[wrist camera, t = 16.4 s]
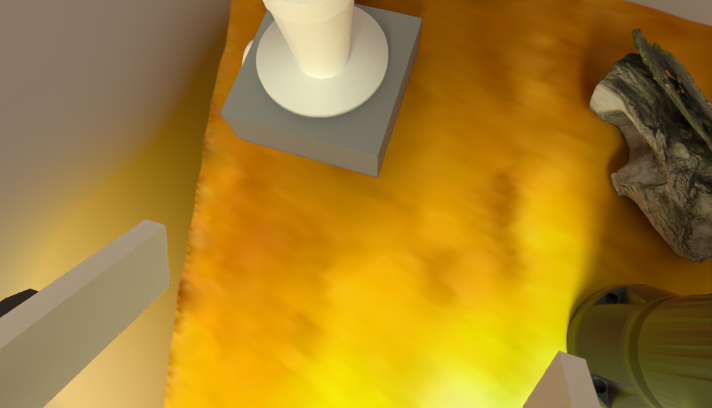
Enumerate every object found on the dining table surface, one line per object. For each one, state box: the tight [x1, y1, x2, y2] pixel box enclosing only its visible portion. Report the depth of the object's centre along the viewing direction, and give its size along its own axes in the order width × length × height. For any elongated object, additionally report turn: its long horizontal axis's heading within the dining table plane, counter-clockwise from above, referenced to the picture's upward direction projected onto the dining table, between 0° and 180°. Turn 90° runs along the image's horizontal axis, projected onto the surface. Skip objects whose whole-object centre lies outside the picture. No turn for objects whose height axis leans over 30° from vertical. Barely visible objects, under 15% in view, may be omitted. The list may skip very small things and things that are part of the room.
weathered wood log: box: [589, 28, 712, 263], centre depth 46 cm, size 28×13×15 cm
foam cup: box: [263, 0, 354, 79], centre depth 41 cm, size 10×9×13 cm
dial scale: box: [220, 3, 422, 177], centre depth 52 cm, size 21×20×9 cm
